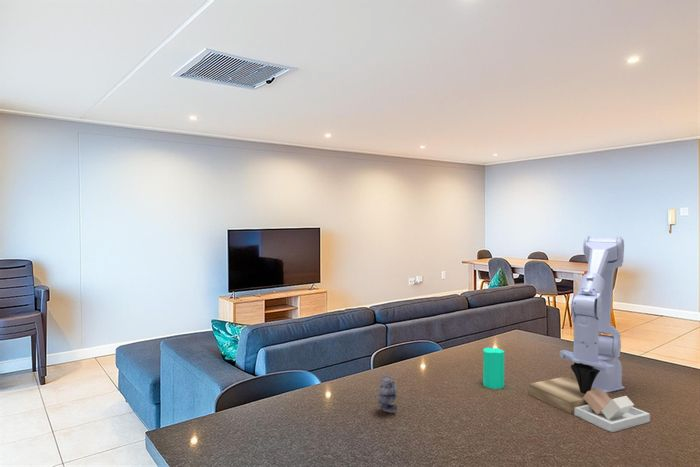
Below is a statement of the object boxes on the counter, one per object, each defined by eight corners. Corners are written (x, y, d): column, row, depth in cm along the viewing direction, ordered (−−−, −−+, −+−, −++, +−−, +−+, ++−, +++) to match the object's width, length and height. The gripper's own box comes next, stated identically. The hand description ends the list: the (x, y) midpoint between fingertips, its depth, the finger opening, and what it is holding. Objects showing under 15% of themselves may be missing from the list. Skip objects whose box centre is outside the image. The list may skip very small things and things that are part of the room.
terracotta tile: (596, 394, 118) (600, 388, 117) (611, 410, 114) (616, 404, 113) (582, 397, 116) (587, 391, 115) (597, 414, 112) (602, 407, 111)
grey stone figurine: (399, 410, 117) (399, 371, 116) (394, 418, 112) (394, 378, 111) (379, 407, 118) (379, 369, 118) (374, 415, 113) (374, 376, 113)
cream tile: (626, 395, 111) (634, 404, 109) (614, 407, 114) (622, 416, 112) (612, 399, 109) (620, 408, 107) (600, 410, 112) (608, 419, 110)
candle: (505, 389, 130) (505, 348, 130) (484, 388, 132) (484, 347, 131) (502, 382, 136) (503, 342, 136) (482, 380, 137) (482, 341, 137)
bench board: (564, 386, 132) (564, 376, 132) (608, 404, 120) (608, 393, 120) (528, 394, 127) (528, 383, 127) (570, 413, 114) (570, 402, 114)
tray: (611, 406, 119) (611, 398, 119) (649, 421, 110) (650, 413, 109) (574, 415, 113) (574, 407, 113) (611, 432, 104) (611, 424, 104)
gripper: (552, 336, 123) (551, 385, 123) (600, 350, 109) (599, 405, 110) (570, 333, 125) (570, 381, 126) (620, 346, 112) (619, 400, 113)
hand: (585, 392), depth 118 cm, fingers closed
